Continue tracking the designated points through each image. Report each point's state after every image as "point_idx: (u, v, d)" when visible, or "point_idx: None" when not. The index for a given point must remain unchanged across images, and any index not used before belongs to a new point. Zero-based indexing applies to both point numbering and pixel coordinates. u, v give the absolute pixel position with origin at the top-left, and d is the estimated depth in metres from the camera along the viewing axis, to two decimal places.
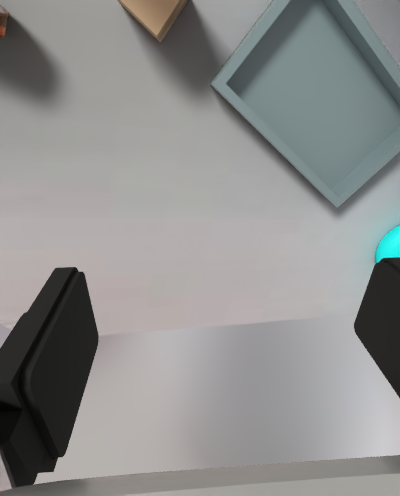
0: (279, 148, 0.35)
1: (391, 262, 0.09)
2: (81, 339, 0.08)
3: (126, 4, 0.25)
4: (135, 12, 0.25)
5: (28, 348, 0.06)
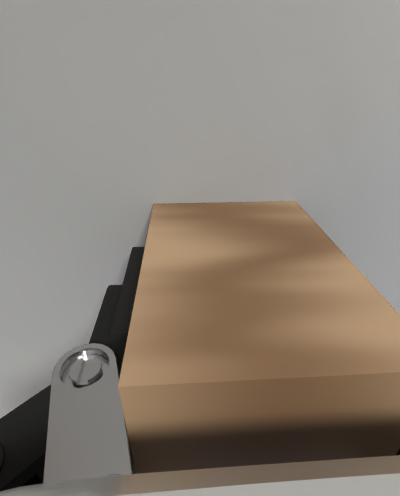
0: None
1: None
2: None
3: (138, 454, 0.05)
4: None
5: None
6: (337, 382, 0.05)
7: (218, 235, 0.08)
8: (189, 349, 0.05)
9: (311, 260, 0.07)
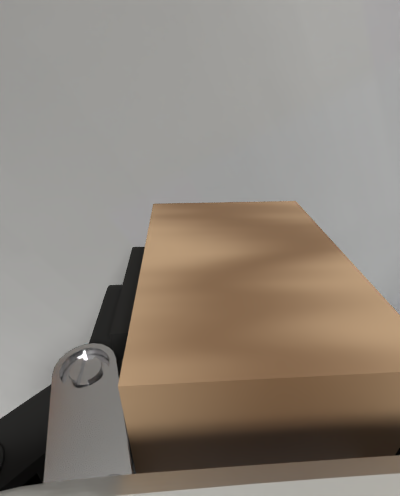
0: None
1: None
2: None
3: (137, 454, 0.05)
4: None
5: None
6: (337, 382, 0.05)
7: (218, 234, 0.08)
8: (188, 349, 0.05)
9: (311, 260, 0.07)
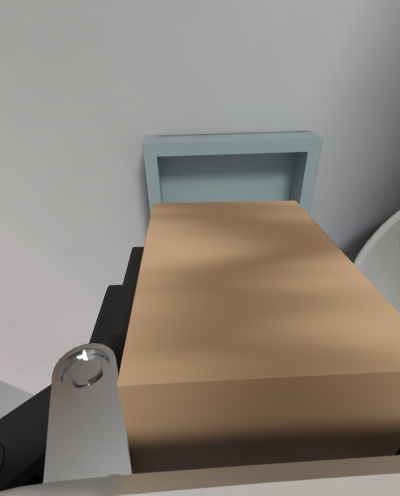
0: None
1: None
2: None
3: (137, 454, 0.05)
4: None
5: None
6: (336, 382, 0.05)
7: (218, 234, 0.08)
8: (188, 349, 0.05)
9: (311, 260, 0.07)
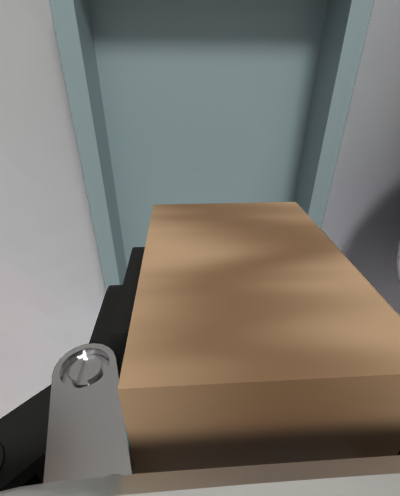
0: (89, 186, 0.17)
1: None
2: None
3: (137, 456, 0.05)
4: None
5: None
6: (337, 385, 0.05)
7: (218, 235, 0.08)
8: (189, 351, 0.05)
9: (311, 262, 0.07)
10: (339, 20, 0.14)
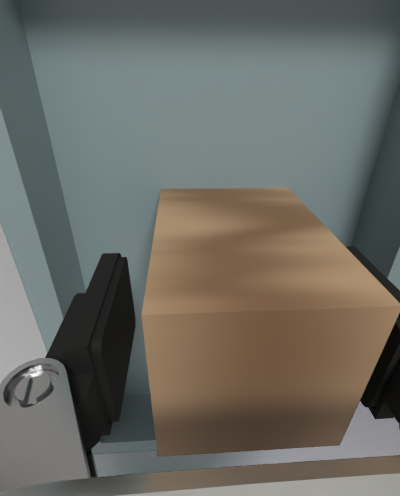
0: (25, 272, 0.10)
1: None
2: (126, 319, 0.09)
3: (153, 380, 0.06)
4: (158, 404, 0.07)
5: (95, 319, 0.07)
6: (314, 316, 0.06)
7: (219, 213, 0.10)
8: (196, 292, 0.06)
9: (298, 232, 0.08)
10: None
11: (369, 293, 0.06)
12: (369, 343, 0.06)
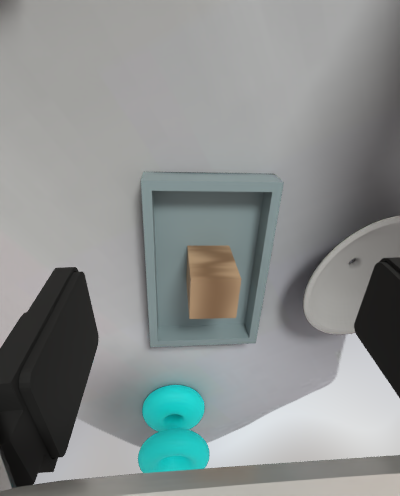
0: (147, 271, 0.34)
1: (391, 262, 0.09)
2: (81, 339, 0.08)
3: (191, 295, 0.30)
4: (191, 301, 0.30)
5: (28, 348, 0.06)
6: (224, 280, 0.30)
7: (206, 255, 0.33)
8: (200, 276, 0.30)
9: (226, 262, 0.32)
10: (267, 204, 0.32)
11: (236, 276, 0.30)
12: (236, 287, 0.30)
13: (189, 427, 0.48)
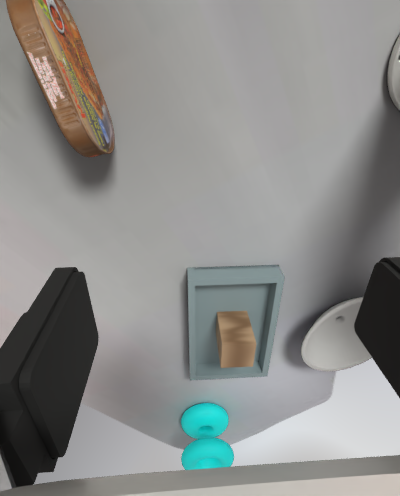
0: (190, 333, 0.48)
1: (391, 262, 0.09)
2: (81, 339, 0.08)
3: (222, 353, 0.44)
4: (222, 357, 0.45)
5: (28, 348, 0.06)
6: (244, 344, 0.44)
7: (231, 321, 0.47)
8: (228, 341, 0.44)
9: (245, 328, 0.46)
10: (273, 288, 0.46)
11: (252, 341, 0.44)
12: (253, 348, 0.44)
13: (217, 435, 0.63)
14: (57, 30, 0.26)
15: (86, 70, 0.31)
